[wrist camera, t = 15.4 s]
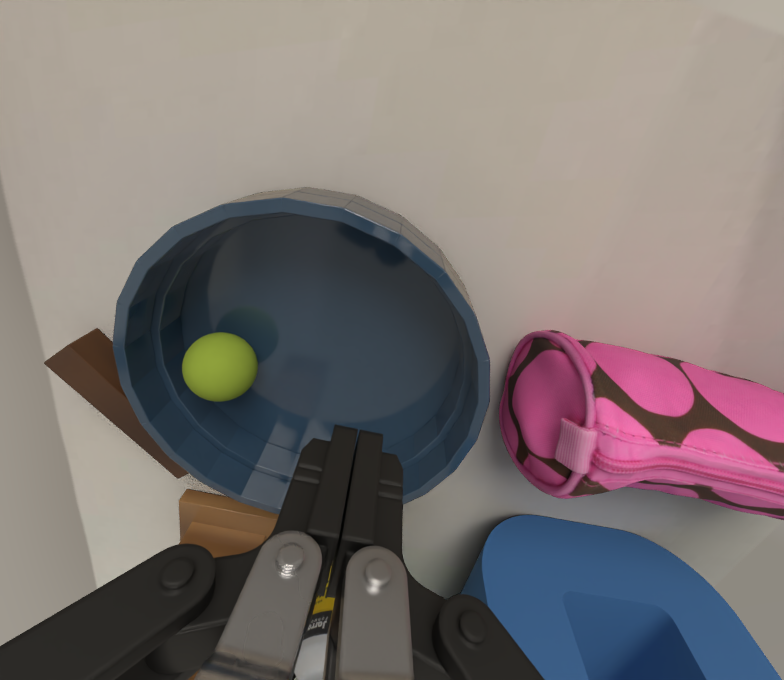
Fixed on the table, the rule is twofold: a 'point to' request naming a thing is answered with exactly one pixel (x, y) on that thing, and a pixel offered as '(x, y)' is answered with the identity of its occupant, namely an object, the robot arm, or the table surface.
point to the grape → (219, 367)
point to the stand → (222, 524)
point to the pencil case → (640, 425)
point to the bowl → (304, 341)
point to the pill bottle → (315, 640)
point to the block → (609, 606)
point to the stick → (105, 389)
